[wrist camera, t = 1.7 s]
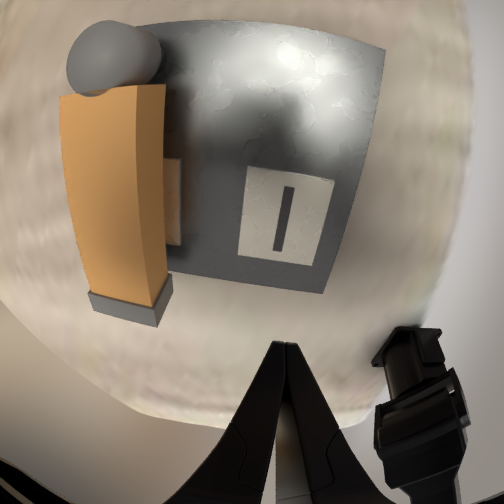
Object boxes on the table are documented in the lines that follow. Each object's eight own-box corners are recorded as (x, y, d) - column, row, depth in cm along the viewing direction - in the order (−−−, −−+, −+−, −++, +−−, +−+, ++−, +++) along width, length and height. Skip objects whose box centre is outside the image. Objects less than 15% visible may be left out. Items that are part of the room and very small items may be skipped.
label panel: (320, 280, 21) (324, 310, 18) (116, 248, 21) (97, 271, 18) (376, 52, 11) (397, 46, 9) (108, 37, 12) (80, 33, 9)
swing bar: (98, 37, 9) (58, 34, 6) (178, 24, 9) (148, 9, 6) (114, 279, 18) (93, 310, 16) (173, 291, 18) (157, 327, 16)
